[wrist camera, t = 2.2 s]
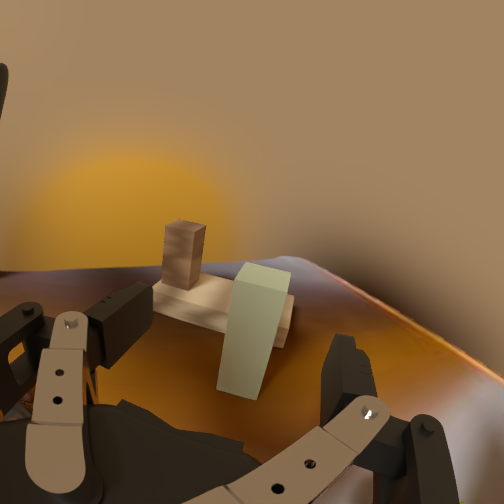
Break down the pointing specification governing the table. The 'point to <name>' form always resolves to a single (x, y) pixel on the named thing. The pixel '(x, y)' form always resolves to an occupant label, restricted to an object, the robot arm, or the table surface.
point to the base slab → (198, 284)
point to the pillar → (251, 328)
